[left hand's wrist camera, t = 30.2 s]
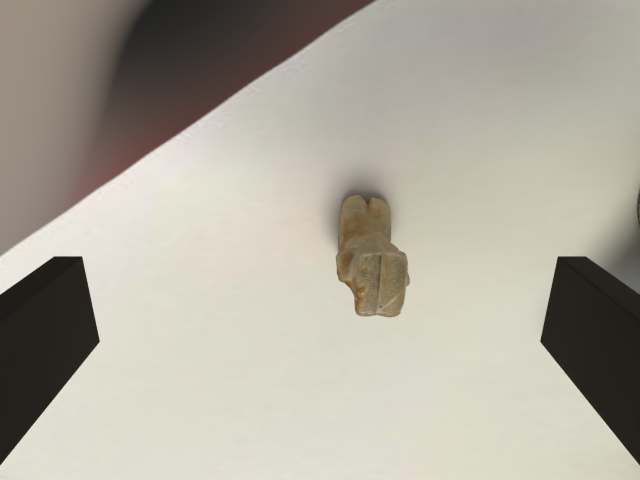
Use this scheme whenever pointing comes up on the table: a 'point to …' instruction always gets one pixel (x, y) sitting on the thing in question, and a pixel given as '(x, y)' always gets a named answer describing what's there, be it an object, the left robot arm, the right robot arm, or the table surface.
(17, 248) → the table surface
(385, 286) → the sculpture
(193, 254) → the table surface
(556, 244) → the table surface
